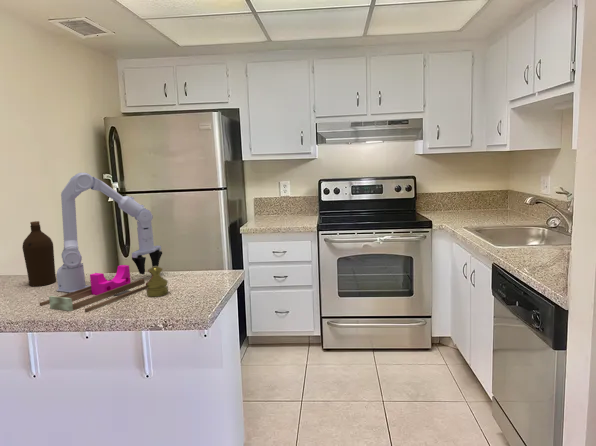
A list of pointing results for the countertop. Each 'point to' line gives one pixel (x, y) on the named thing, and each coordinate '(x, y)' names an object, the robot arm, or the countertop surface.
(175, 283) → the countertop surface
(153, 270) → the gold tapered round piece
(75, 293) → the wooden slat rack
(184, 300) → the countertop surface
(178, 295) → the countertop surface
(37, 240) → the olive oil
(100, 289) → the magenta curved bracket
